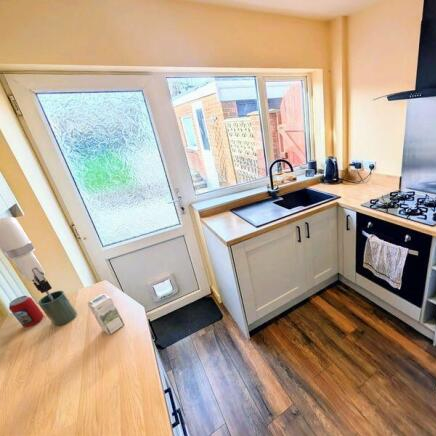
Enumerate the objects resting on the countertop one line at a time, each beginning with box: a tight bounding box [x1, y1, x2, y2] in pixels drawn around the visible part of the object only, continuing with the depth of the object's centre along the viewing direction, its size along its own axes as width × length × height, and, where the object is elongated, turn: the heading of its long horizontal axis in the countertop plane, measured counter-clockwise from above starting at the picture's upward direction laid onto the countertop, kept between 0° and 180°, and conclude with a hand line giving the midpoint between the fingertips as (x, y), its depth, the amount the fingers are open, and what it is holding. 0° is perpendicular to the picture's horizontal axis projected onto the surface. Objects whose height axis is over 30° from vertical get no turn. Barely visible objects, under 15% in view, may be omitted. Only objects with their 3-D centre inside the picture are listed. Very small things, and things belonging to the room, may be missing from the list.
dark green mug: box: [37, 290, 78, 327], centre depth 101 cm, size 8×8×12 cm
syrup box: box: [87, 293, 125, 336], centre depth 94 cm, size 6×6×14 cm
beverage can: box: [8, 295, 45, 328], centre depth 102 cm, size 7×7×12 cm
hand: (45, 289), depth 97 cm, fingers closed on bottle brush, 2 cm apart
